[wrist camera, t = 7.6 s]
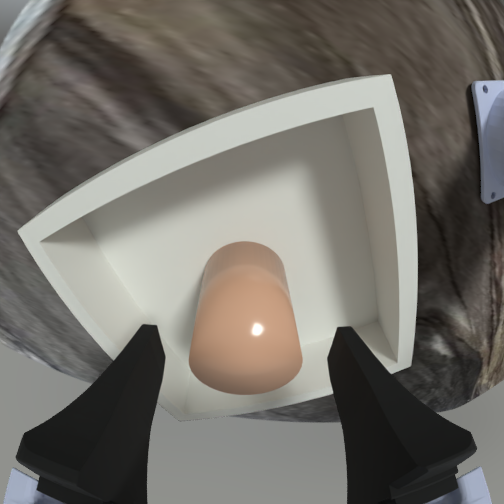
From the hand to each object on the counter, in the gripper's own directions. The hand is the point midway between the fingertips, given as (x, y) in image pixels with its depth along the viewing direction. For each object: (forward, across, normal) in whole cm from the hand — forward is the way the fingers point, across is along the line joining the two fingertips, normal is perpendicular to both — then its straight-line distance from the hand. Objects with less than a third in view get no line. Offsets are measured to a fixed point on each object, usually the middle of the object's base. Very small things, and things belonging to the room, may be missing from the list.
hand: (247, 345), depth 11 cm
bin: (+6, 0, 0) cm, 6 cm away
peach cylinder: (+5, 0, 0) cm, 5 cm away
